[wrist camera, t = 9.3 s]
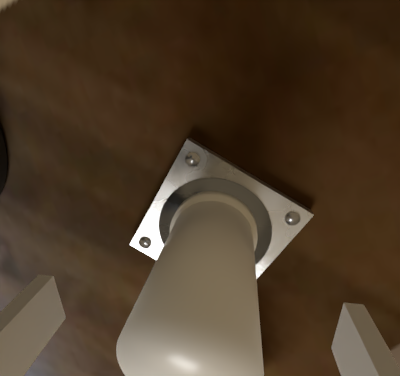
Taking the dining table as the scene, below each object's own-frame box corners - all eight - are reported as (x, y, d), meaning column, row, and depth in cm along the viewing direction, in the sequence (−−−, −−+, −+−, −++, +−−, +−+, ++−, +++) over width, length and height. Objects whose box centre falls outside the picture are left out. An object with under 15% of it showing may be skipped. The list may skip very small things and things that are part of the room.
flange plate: (133, 239, 21) (128, 245, 20) (189, 136, 17) (186, 139, 16) (234, 296, 22) (234, 304, 21) (311, 209, 18) (314, 215, 17)
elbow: (170, 188, 18) (96, 294, 9) (260, 193, 17) (281, 316, 8) (176, 291, 21) (128, 445, 12) (251, 299, 21) (259, 471, 11)
